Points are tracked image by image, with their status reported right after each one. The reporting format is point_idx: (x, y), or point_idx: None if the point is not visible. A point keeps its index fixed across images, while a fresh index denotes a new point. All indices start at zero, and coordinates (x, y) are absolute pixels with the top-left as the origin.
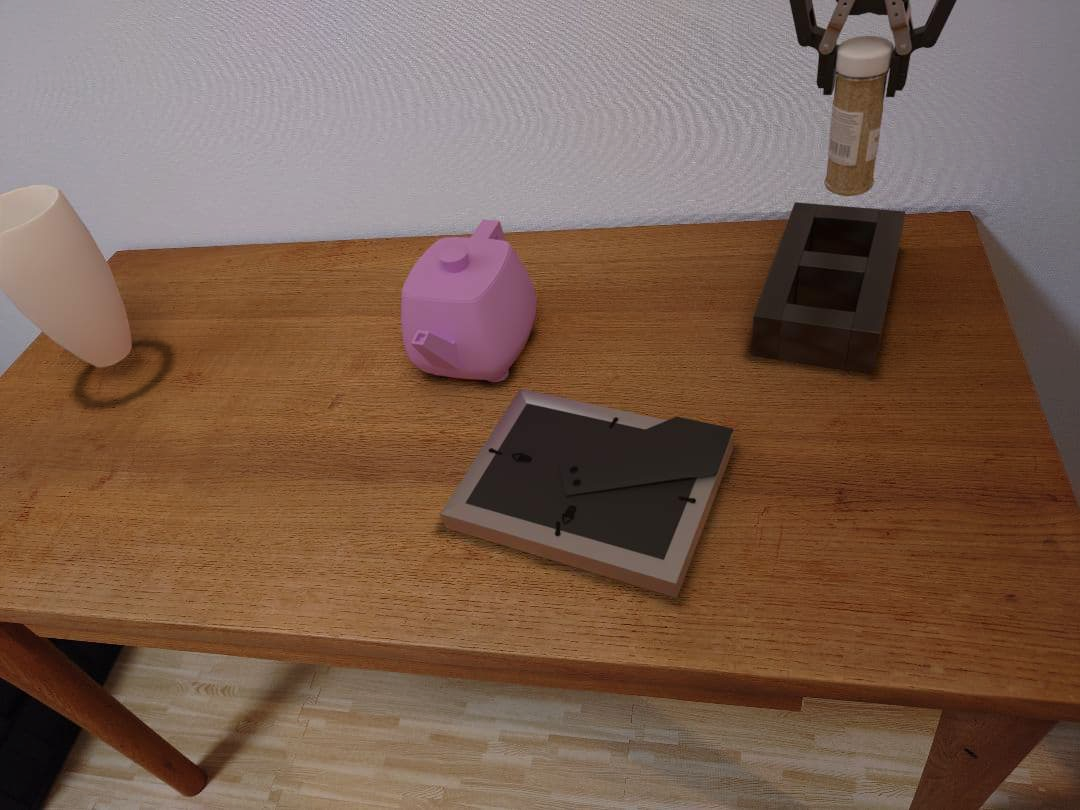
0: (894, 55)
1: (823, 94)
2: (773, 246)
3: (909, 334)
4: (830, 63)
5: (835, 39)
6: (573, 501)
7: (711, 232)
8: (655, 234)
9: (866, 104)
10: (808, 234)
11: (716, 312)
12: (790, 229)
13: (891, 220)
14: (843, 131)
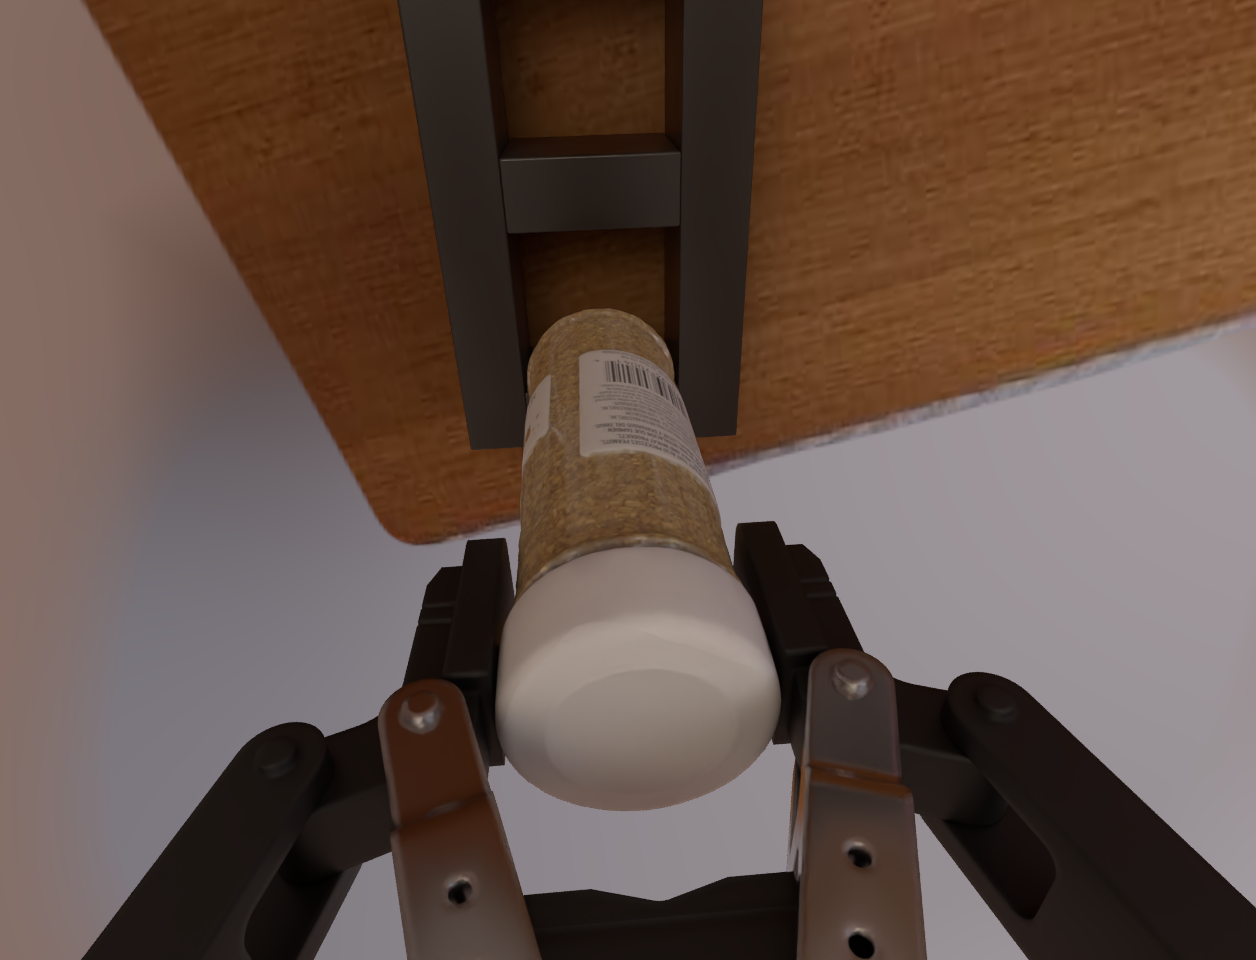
0: (475, 681)
1: (771, 522)
2: (753, 356)
3: (368, 76)
4: (792, 619)
5: (817, 720)
6: None
7: (901, 377)
8: (1036, 341)
9: (574, 480)
10: (679, 304)
11: (858, 41)
12: (729, 316)
13: (493, 406)
14: (646, 409)
